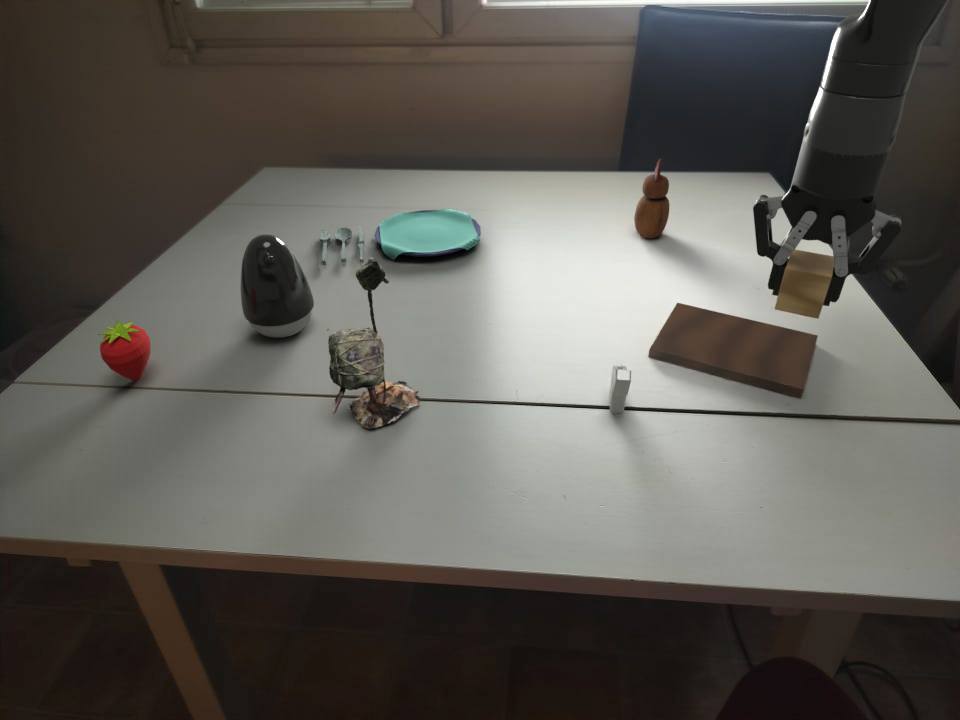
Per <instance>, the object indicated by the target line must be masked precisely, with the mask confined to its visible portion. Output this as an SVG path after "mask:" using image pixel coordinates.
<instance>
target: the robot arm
mask: <svg viewBox="0 0 960 720" xmlns="http://www.w3.org/2000/svg"><path fill="white" fill-rule="evenodd" d="M948 2H950V0H869V1H868V3H867V5H866V7H865V9H864V10H863V11H861V12H856V13H853V14H851V15H848V16H846V17H845V18H844V19H842V20H840V22H839V24H838V25H837V27H836V29H835V30H834V33H833V36H832V39H831V42H830V44H829V49H828V54H827V57H826V61H825V64H824V69H823V72H822V75H821V80H820V85H819V87H818V90H817V94H816V96H815V98H814V101H813V103H812V105H811V107H810V111H809V114H808V118H807V123H806V124H805V126H804V129H803V138H802V142H801V145H800V150H799V153H798V157H797V161H796V165H795V168H794V173H793V176H792V179H791V184H790V187H789V188H788V189H787V190H786V191H785V192H784V194H783V195H781V196H779V195H778V196H772V197H771V196H770V197H769V196H768V195H766V194H761V195H759V196H758V197H757V199H756V200H755V202H754V204H753V207H752V214H753V223H754V233H755V245H756V253H757V255H758V256H759V257H762V258H763V257H766V258H768V259H769V260H771V262H772V266H771V271H770V274H769V278H768V282H767V288H768V290H772V293H771V295H772V296H774V297H775V296H776V297H778V294H779V291H780V287H781V283H782V280H783V276H784V272H785V269H786V266H787V263H788V260H789V257H790V255H791V253H792V252H793V250H794V249H795V250H796V248H798V246H799V244H800V243H801V241H802V240H803V241H819V242H821V243H823V244H826V245H832V256H834V270H833V274H832V278H831V282H830V285H829V288H828V291H827V294H826V297H825V300H824V303H823V306H825V307H830V304H831V303H836V302H838V301H839V300H840V297H841V294H842V291H843V287H844V285H845V282H846V279H847V277H849V276H850V275H855V274H858V275H861V276H865V275H867V274H868V273H869V272H870V271H871V270H872V269H873V267H874V266H875V265H876V264H877V263H878V261H879V259H880V258H881V257H882V256H883V255H884V253H885V252H886V251H887V250H888V248H889V247H890V246H891V244H892V243H893V242H894V240H895V239H896V238H897V237H898V236H899V234H900V233H901V231H902V217H901V216H900V215H899V214H896V213H895V214H890V215H889V214H886V213H884V212H881V211H879V210H877V204H876V201H875V197H876V194H877V191H878V188H879V186H880V183H881V180H882V176H883V173H884V171H885V168H886V164H887V162H888V159H889V156H890V153H891V150H892V147H893V145H894V144H895V142H896V139H897V132H898V129H899V126H900V123H901V120H902V116H903V111H904V104H905V100H906V96H907V92H908V89H909V86H910V83H911V81H912V78H913V75H914V71H915V69H916V65H917V63H918V59H919V57H920V53H921V50H922V46H923V43H924V42H925V39H926V38H927V36H928V35H929V33H930V32H931V30H932V29H933V28H934V26H935V24H936V23H937V21H938V19H939V18H940V16H941V15H942V14H943V11H944V10H945V8H946V6H947V4H948ZM780 209H782V210H783V212H784V215H785V216H786V218H787V221H788V223H789V225H790V228H789V229H788V231H787V233H786V235H785V236H784V238H783V240H782V241H781V242H780V244H778V243H777V242H775V241H774V240H773V239H774V238H773V227H772V220H773V219H775V218H776V215H777V214H778V210H780ZM869 223H871V224H872V229H871V234H872V236H873V237H872V238H871V240H870V241H869V242H868V244H867V245H866V246H865V248H864V249H863V251H862V252H861V253H860V255H859V256H853V257H850V255H851V254H850V237H851V236H852V235H853V234H855V233H856V232H858V231H859V230H861V229H862V228H863V227H865V226H866V225H867V224H869Z"/></svg>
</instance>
